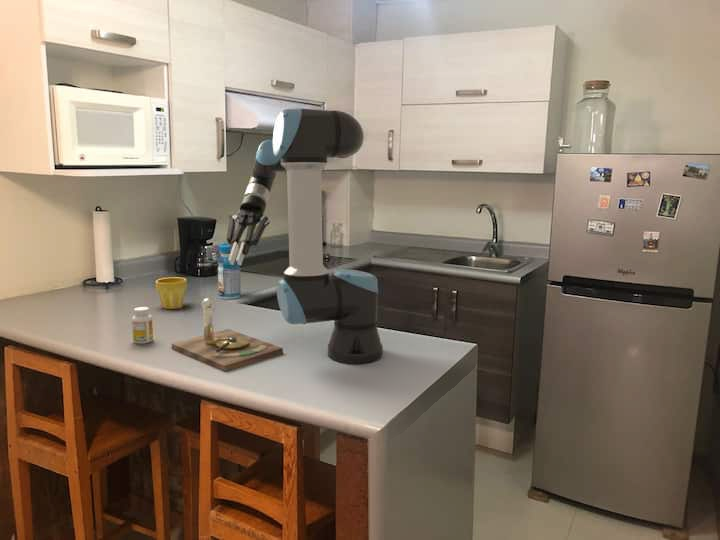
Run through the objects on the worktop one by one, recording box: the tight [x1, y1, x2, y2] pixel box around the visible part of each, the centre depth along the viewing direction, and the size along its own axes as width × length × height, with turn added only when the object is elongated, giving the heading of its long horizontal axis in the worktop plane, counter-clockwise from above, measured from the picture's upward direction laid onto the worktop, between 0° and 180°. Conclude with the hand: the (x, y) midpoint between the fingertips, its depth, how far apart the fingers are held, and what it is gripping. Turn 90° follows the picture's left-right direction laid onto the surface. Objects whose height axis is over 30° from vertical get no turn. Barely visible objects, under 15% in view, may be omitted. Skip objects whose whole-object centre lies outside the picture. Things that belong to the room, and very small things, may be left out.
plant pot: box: [155, 276, 188, 310], centre depth 205 cm, size 10×10×10 cm
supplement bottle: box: [131, 306, 154, 344], centre depth 167 cm, size 5×5×10 cm
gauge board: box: [171, 328, 284, 372], centre depth 161 cm, size 25×19×2 cm
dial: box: [201, 298, 249, 352], centre depth 159 cm, size 13×13×13 cm
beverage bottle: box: [217, 243, 242, 300], centre depth 219 cm, size 8×8×20 cm
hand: (234, 262), depth 172 cm, fingers open, 2 cm apart
